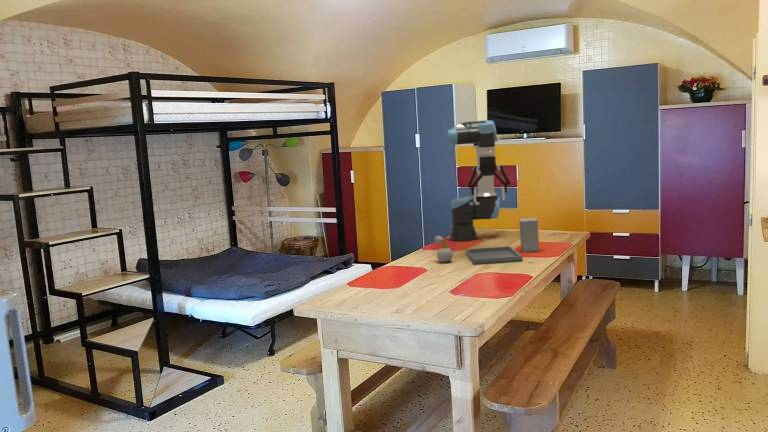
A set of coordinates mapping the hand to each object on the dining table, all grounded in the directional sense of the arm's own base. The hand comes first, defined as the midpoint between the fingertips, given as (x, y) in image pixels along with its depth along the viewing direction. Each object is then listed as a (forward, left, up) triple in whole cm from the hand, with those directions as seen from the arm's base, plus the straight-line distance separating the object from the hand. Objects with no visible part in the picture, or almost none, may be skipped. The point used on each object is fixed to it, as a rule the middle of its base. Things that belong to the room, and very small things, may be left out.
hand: (489, 200), depth 291 cm
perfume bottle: (+5, -24, -27) cm, 36 cm away
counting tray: (+4, 0, -27) cm, 27 cm away
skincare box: (-6, +20, -27) cm, 34 cm away
